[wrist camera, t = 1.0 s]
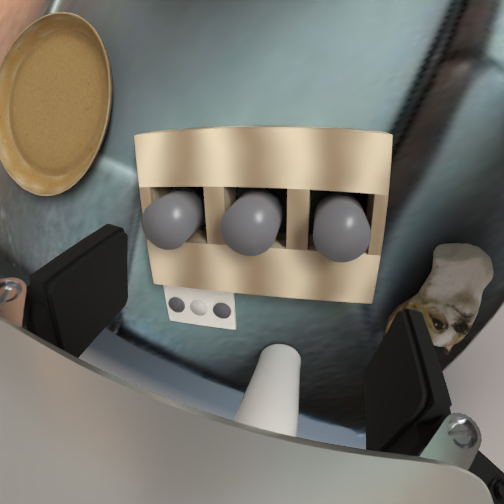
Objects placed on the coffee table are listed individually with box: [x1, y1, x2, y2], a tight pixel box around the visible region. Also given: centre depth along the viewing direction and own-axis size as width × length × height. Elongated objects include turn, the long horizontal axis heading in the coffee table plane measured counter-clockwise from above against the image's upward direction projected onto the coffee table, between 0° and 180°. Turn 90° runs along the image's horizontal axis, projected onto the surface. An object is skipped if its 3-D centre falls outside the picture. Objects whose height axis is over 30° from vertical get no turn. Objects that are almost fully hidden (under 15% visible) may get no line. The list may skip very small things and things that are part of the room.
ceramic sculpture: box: [383, 243, 494, 354], centre depth 28 cm, size 11×9×15 cm
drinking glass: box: [233, 344, 301, 437], centre depth 33 cm, size 7×7×15 cm
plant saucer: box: [0, 12, 113, 196], centre depth 30 cm, size 24×24×3 cm
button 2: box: [313, 192, 371, 262], centre depth 26 cm, size 5×5×5 cm
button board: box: [134, 126, 393, 304], centre depth 30 cm, size 23×16×4 cm
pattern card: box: [163, 285, 236, 330], centre depth 39 cm, size 9×6×1 cm, turn 91°
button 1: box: [142, 187, 206, 250], centre depth 29 cm, size 5×5×5 cm
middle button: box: [220, 188, 284, 256], centre depth 28 cm, size 5×5×5 cm
